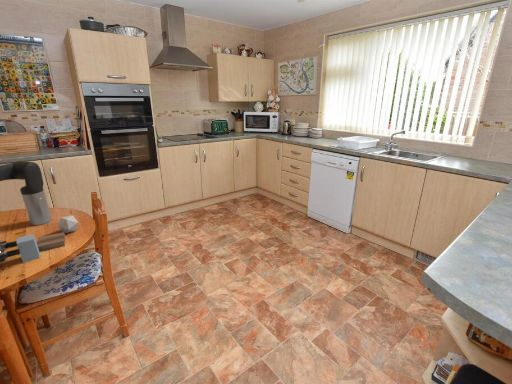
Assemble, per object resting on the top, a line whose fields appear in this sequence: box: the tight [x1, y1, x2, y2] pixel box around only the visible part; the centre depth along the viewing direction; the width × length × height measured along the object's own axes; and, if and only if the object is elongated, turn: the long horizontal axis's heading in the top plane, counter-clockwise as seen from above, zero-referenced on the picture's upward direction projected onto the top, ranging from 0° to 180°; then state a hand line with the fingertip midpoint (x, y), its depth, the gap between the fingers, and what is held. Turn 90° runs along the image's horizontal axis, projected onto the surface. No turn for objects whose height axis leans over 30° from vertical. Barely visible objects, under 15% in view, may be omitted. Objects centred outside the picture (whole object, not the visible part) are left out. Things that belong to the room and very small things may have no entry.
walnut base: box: [36, 231, 66, 253], centre depth 125 cm, size 10×10×3 cm
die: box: [57, 215, 79, 235], centre depth 136 cm, size 8×9×10 cm
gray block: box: [16, 233, 41, 263], centre depth 114 cm, size 6×6×9 cm
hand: (20, 246), depth 112 cm, fingers open, 8 cm apart
